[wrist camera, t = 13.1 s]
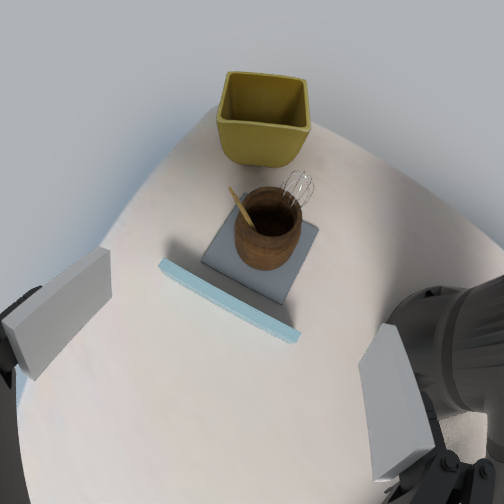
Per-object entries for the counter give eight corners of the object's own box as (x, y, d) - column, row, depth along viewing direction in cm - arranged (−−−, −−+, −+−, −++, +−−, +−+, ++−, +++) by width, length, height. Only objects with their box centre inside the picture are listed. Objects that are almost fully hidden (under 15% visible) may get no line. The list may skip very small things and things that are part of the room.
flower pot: (294, 130, 36) (307, 77, 27) (295, 183, 33) (311, 130, 24) (228, 124, 36) (227, 70, 27) (219, 176, 33) (214, 121, 24)
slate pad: (318, 231, 31) (319, 229, 30) (281, 305, 28) (281, 304, 27) (244, 194, 32) (244, 192, 31) (201, 262, 29) (200, 260, 29)
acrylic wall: (295, 334, 27) (301, 332, 24) (290, 344, 27) (296, 342, 24) (170, 266, 29) (163, 257, 26) (165, 275, 28) (157, 266, 25)
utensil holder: (304, 256, 29) (341, 195, 18) (249, 284, 28) (256, 235, 17) (275, 209, 31) (293, 132, 20) (221, 234, 30) (213, 162, 18)
